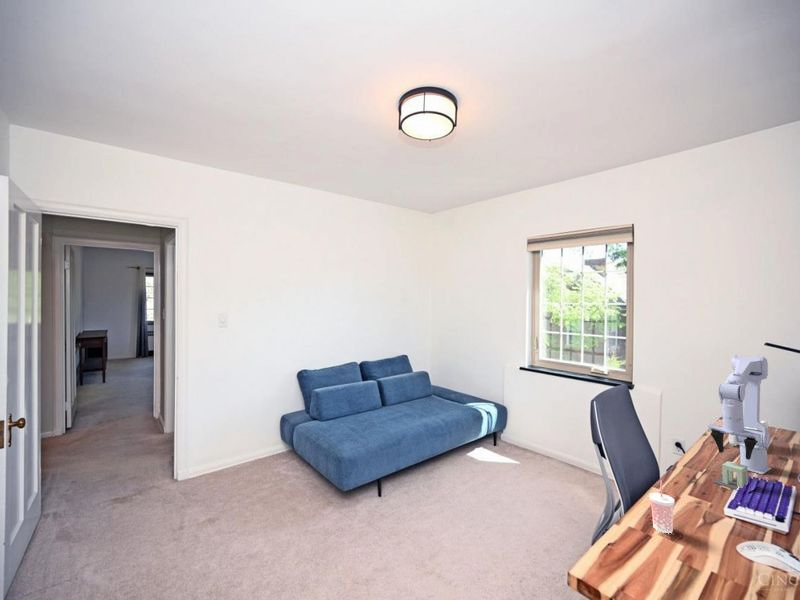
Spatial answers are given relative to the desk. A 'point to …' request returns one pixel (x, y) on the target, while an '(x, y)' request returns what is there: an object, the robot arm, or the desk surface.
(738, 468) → the slotted sage cube
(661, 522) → the beverage cup
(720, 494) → the desk surface
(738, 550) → the desk surface
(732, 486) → the felt pad
